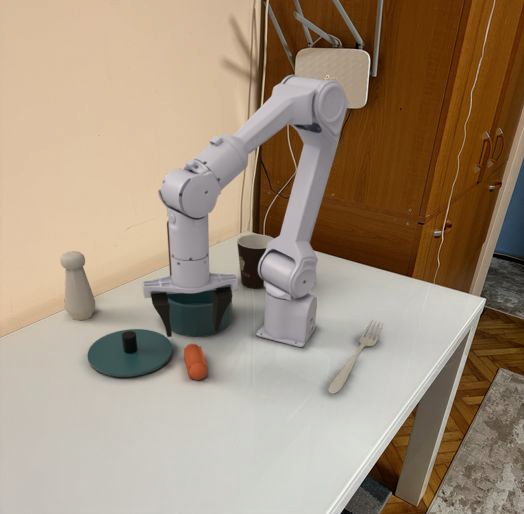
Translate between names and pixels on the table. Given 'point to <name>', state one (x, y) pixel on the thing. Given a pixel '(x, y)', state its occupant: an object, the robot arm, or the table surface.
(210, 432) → the table surface
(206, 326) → the pot
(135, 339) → the pot lid
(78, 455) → the table surface
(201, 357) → the hot dog
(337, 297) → the table surface
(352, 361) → the fork
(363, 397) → the table surface
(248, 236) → the coffee mug
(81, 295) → the salt shaker
